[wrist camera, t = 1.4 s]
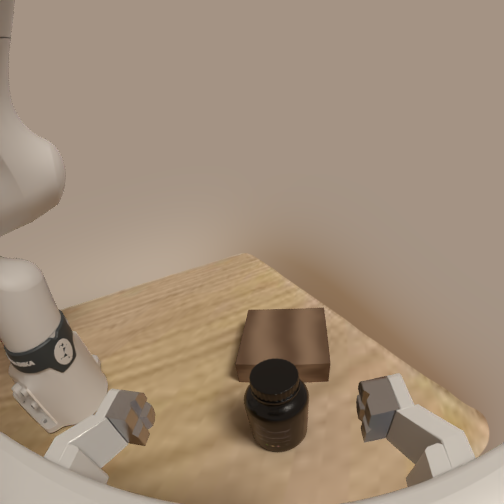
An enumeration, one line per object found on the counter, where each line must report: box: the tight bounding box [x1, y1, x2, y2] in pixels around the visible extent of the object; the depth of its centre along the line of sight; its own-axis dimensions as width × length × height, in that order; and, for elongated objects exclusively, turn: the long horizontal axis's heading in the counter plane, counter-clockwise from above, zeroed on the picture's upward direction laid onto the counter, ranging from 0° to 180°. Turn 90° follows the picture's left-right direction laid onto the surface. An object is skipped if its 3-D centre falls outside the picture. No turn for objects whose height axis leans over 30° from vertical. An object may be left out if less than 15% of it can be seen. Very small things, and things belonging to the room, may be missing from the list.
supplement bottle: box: [244, 358, 309, 452], centre depth 27 cm, size 7×7×12 cm
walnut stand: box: [235, 308, 330, 382], centre depth 42 cm, size 13×13×4 cm
